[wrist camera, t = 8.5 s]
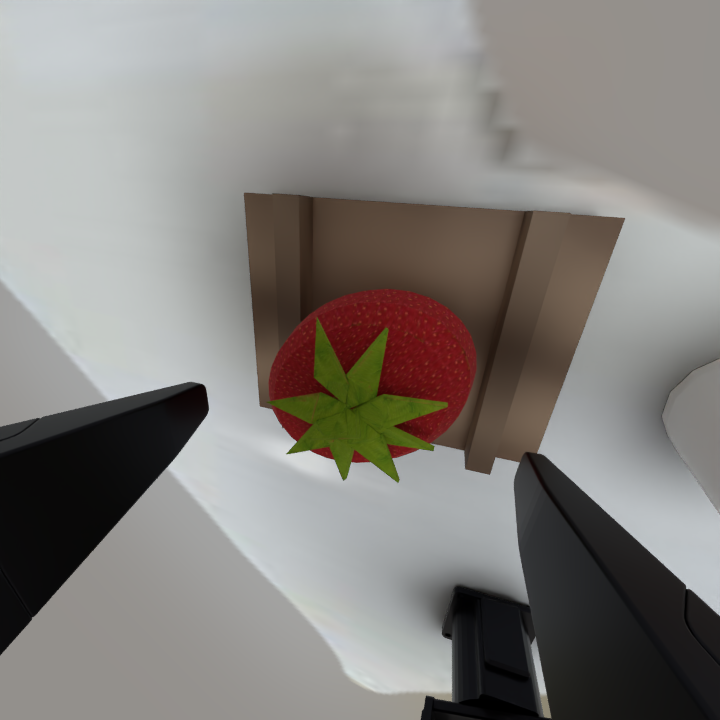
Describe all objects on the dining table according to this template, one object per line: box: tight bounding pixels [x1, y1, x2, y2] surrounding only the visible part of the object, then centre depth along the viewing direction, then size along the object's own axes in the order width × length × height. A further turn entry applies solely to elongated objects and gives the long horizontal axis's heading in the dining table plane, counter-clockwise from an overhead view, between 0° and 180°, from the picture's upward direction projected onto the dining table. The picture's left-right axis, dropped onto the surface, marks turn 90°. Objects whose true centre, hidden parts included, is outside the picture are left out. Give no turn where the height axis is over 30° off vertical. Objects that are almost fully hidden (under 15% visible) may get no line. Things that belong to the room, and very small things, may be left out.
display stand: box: [244, 193, 625, 475], centre depth 17 cm, size 12×16×4 cm
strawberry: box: [267, 289, 477, 482], centre depth 12 cm, size 6×8×10 cm
